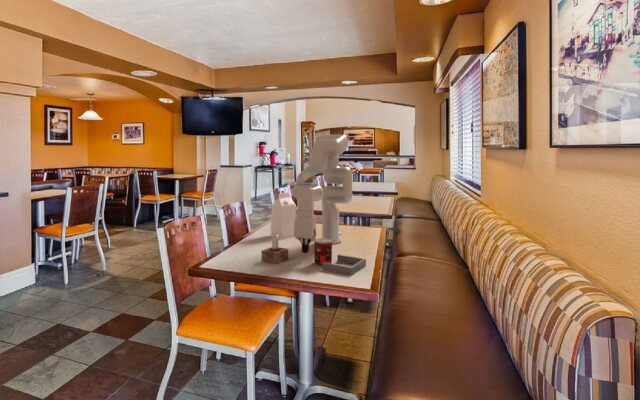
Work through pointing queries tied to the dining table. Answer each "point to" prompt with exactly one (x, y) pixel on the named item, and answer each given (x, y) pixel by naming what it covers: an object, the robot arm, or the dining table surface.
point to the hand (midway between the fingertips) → (305, 252)
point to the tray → (345, 269)
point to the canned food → (322, 251)
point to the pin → (275, 242)
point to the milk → (283, 216)
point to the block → (275, 255)
